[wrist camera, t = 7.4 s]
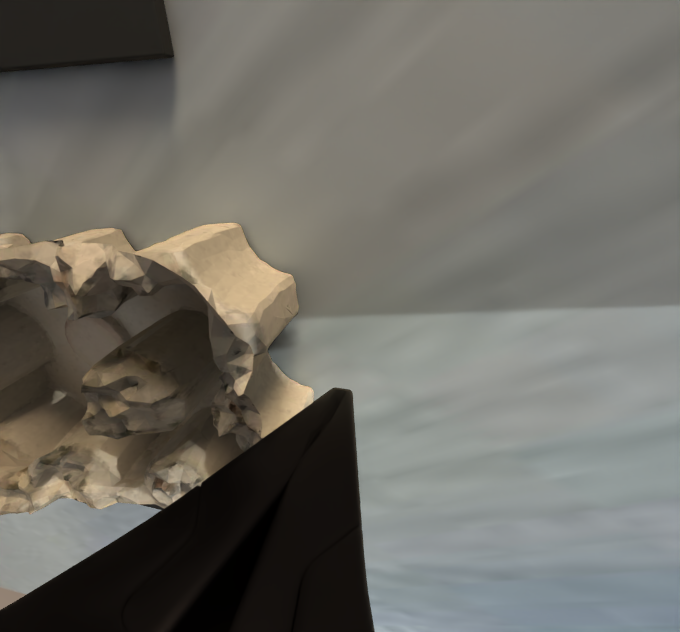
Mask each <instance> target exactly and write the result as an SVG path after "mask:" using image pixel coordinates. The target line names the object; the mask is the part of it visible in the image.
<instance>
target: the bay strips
mask: <svg viewBox="0 0 680 632" xmlns="http://www.w3.org/2000/svg"><path fill="white" fill-rule="evenodd" d="M172 57H174V54H173V48H172V43H171V38H170V33H169V27H168V22H167V17H166V12H165V6H164V1H163V0H0V72H8V71H19V70H31V69H43V68H55V67H67V66H78V65H90V64H102V63H114V62H126V61H137V60H149V59H161V58H172ZM140 505H144V506H148V507H152V508H156V509H160V510H163V509H164V508H162V507H160V506H158V505H156V504H140Z"/></svg>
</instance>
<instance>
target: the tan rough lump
mask: <svg viewBox="0 0 680 632" xmlns="http://www.w3.org/2000/svg"><path fill="white" fill-rule="evenodd" d="M298 310H299V306H298V300H297V294H296V283H295V282H294V279H293V276H292V275H290V274H287V273H283V272H280V271H278V270H276V269H274V268H272V267H271V266H269V265H268V264H267V263H265V262H263V261H262V260H260V259H259V258H258V257H257V255H256V254H255V253H254V251H253V250H252V249H251V248H250V247H249V245H248V243H247V240H246V238H245V235H244V233H243V230H242V227H241V226H240V225H239V224H237V223H219V224H209V225H203V226H199V227H196V228H194V229H192V230H188V231H185V232H183V233H182V234H179V235H176V236H173V237H171V238H169V239H167V240H166V241H165V242H160V243H155V244H154V245H152V246H150V247H148V248H145V249H142V250H139V251H135V250H134V249H133V248H132V246H131V245H130V244H129V242H128V241H127V239H126V238H125V236H124V234H123V232H122V230H120V229H114V228H104V229H93V230H89V231H85V232H81V233H77V234H73V235H70V236H67V237H63V238H60V239H57V240H54V241H42V242H37V243H33V244H31V243H30V241H29V239H27V238H26V237H25V236H24V235H23V234H17V233H4V234H0V515H3V514H8V513H23V512H29V514H32V513H34V512H36V511H38V510H40V509H42V508H44V507H46V506H47V505H49V504H50V503H52V502H54V501H55V500H57V499H58V498H73V499H75V500H77V501H80V502H83V503H86V504H87V505H88V506H89V507H90V508H96V509H103V508H105V507H108V506H110V505H112V504H115V503H117V502H120V503H131V504H156V505H158V506H160V507H162V508H166V507H167V506H169V505H170V504H172V503H173V502H174V501H176V500H177V499H179V498H180V497H182V496H183V495H184V494H186V493H187V492H189V491H190V490H191V489H193V488H194V487H196V486H197V485H199V486H200V487H201V483H202V482H203V481H204V480H206V479H207V478H208V477H210V476H211V475H212V474H214V473H215V472H217V471H218V470H219V469H221V468H222V467H224V466H225V465H226V464H228V463H229V462H231V461H232V460H233V459H235V458H236V457H238V456H239V455H240V454H242V453H243V452H244V451H246V450H247V449H249V448H250V447H251V446H253V445H254V444H256V443H257V442H258V441H260V440H261V439H263V438H264V437H265V436H267V435H268V434H270V433H271V432H272V431H274V430H275V429H276V428H278V427H279V426H281V425H282V424H283V423H285V422H286V421H288V420H289V419H290V418H292V417H293V416H295V415H296V414H297V413H299V412H300V411H302V410H303V409H304V408H306V407H307V406H309V405H310V404H311V403H313V402H314V401H313V394H314V391H313V390H312V389H311V387H309V386H303V385H300V384H299V383H297V382H296V381H293V380H291V379H289V378H288V377H287V376H286V375H285V374H284V373H283V372H282V371H281V370H280V369H279V368H278V366H277V365H276V364H275V363H273V362H272V360H271V356H270V355H269V352H268V348H269V346H270V345H271V344H272V342H273V341H274V340H275V338H276V337H277V336H278V335H279V334H280V333H281V331H282V330H283V329H284V328H285V327H286V326H287V324H288V323H289V322H290V321H291V319H292V318H293V317H295V316H296V315H297V314H298Z"/></svg>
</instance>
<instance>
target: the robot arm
mask: <svg viewBox="0 0 680 632" xmlns="http://www.w3.org/2000/svg"><path fill="white" fill-rule="evenodd" d="M0 632H375V631H374V625H373V619H372V613H371V607H370V601H369V595H368V588H367V578H366V569H365V559H364V548H363V534H362V523H361V509H360V494H359V480H358V466H357V451H356V437H355V423H354V408H353V393H352V391H351V390H348V389H342V388H332V389H331V390H329V391H328V392H327V393H325V394H324V395H322V396H321V397H320V398H318V399H317V400H315V401H314V402H313V403H311V404H310V405H309V406H307V407H306V408H304V409H303V410H302V411H300V412H299V413H297V414H296V415H295V416H293V417H292V418H290V419H289V420H288V421H286V422H285V423H283V424H282V425H281V426H279V427H278V428H276V429H275V430H274V431H272V432H271V433H270V434H268V435H267V436H265V437H264V438H263V439H261V440H260V441H258V442H257V443H256V444H254V445H253V446H251V447H250V448H249V449H247V450H246V451H244V452H243V453H242V454H240V455H239V456H238V457H236V458H235V459H233V460H232V461H231V462H229V463H228V464H226V465H225V466H224V467H222V468H221V469H219V470H218V471H217V472H215V473H214V474H212V475H211V476H210V477H208V478H207V479H206V480H204V481H203V482H202V483H201V487H200V486H199V485H197V486H196V487H194V488H193V489H191V490H190V491H189V492H187V493H186V494H184V495H183V496H182V497H180V498H179V499H177V500H176V501H174V502H173V503H172V504H170V505H169V506H167V507H166V508H164V509H163V510H161V511H160V512H158V513H157V514H156V515H154V516H153V517H151V518H150V519H148V520H147V521H145V522H144V523H142V524H140V525H139V526H137V527H136V528H134V529H133V530H131V531H129V532H128V533H126V534H125V535H123V536H122V537H120V538H118V539H117V540H115V541H114V542H112V543H110V544H109V545H107V546H106V547H104V548H102V549H101V550H99V551H97V552H96V553H94V554H92V555H91V556H89V557H88V558H86V559H84V560H83V561H81V562H79V563H78V564H76V565H74V566H73V567H71V568H69V569H68V570H66V571H65V572H63V573H61V574H60V575H58V576H56V577H55V578H53V579H51V580H50V581H48V582H46V583H45V584H43V585H42V586H40V587H38V588H37V589H35V590H33V591H32V592H30V593H28V594H27V595H25V596H24V597H22V598H20V599H19V600H17V601H16V602H14V603H12V604H10V605H8V606H7V607H5V608H3V609H1V610H0Z"/></svg>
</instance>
